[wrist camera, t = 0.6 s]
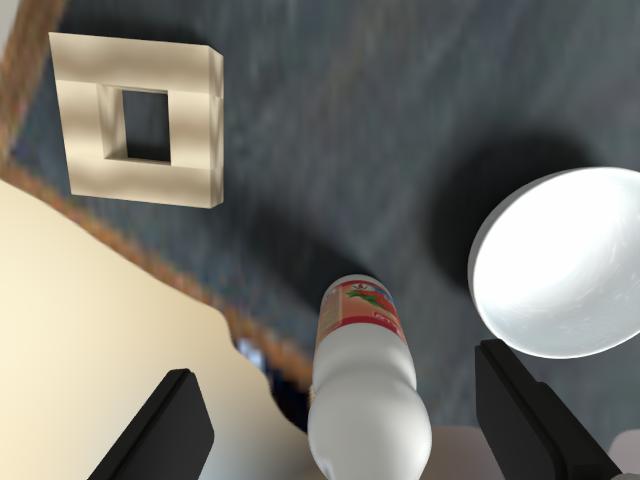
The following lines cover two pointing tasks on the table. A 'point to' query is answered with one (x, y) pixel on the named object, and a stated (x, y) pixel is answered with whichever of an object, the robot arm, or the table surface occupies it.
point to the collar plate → (109, 126)
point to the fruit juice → (365, 388)
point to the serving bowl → (562, 263)
